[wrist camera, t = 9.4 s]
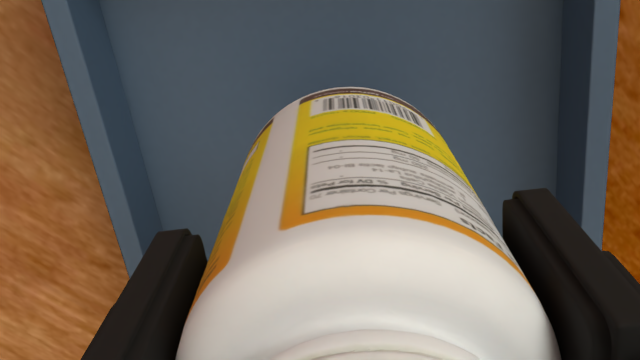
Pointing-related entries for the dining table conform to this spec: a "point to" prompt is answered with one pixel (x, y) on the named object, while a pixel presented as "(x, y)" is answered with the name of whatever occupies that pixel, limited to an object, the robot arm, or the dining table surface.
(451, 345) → the supplement bottle
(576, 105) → the tray
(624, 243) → the dining table surface
